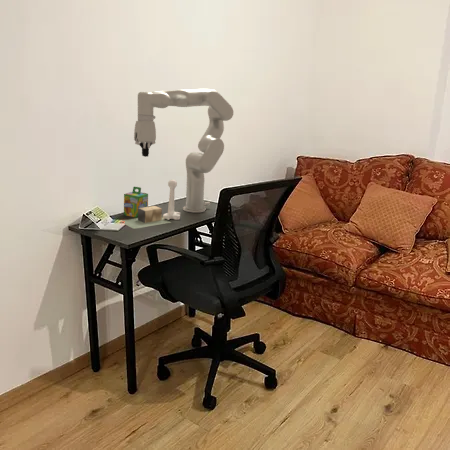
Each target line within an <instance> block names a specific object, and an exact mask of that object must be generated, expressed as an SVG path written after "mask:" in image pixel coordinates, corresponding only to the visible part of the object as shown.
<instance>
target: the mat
mask: <svg viewBox="0 0 450 450" xmlns="http://www.w3.org/2000/svg"><path fill="white" fill-rule="evenodd" d="M122 221H125V223H124V225H126V226H127V227H129V228H131V229H133V230H135V229H141V228H142V229H143V228H147V227H153V226H159V225H164V224H172V222H171V221H169V220H167V219H165V220H163V217H162V220H159V221H153V222H147V223H143V222H141V221H139V220H138V218H136V217H133V218H129V219H123V220H122Z"/></svg>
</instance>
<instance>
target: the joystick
mask: <svg viewBox="0 0 450 450" xmlns="http://www.w3.org/2000/svg"><path fill="white" fill-rule="evenodd" d="M167 186H168V187H169V197H168V206H167V207H168V208H167V212H166V213H163V214H162V218H163V220H167V221H169V220H170V219H171V220H174V221H175V220H177V221H179V220H181V212H179V211H175V189H176V187H178V182H177V180H176V179H169V181H168V182H167Z"/></svg>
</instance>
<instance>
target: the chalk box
mask: <svg viewBox="0 0 450 450" xmlns="http://www.w3.org/2000/svg"><path fill="white" fill-rule="evenodd" d="M136 190H138V191H136ZM141 190H142V187H141V186H139V187H138V186H133V187H132V191H130V192H127V193H123V216H126V217H131V218H138V208H143V207H149V193H146V192H141Z"/></svg>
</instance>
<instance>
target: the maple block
mask: <svg viewBox="0 0 450 450" xmlns="http://www.w3.org/2000/svg"><path fill="white" fill-rule="evenodd" d="M162 213H163V208H162V207H159V206H157V205H153V206H148V207H143V208H138V220H139V221H141V222H143V223H147V222H153V221H159V220H162V218H163V214H162Z"/></svg>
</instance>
